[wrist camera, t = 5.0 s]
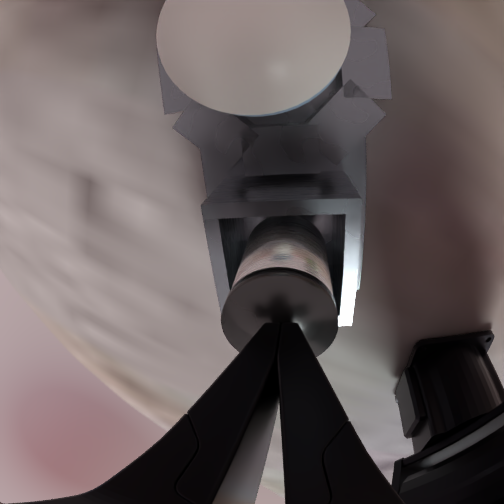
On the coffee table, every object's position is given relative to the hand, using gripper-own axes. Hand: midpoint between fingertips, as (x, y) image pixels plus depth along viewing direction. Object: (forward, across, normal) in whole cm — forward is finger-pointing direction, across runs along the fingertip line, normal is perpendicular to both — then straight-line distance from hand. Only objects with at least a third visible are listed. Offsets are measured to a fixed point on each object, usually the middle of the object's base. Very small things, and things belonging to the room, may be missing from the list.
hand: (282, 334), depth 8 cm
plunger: (+5, 0, 0) cm, 5 cm away
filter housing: (+7, 0, -7) cm, 10 cm away
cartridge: (+7, 0, -7) cm, 10 cm away
